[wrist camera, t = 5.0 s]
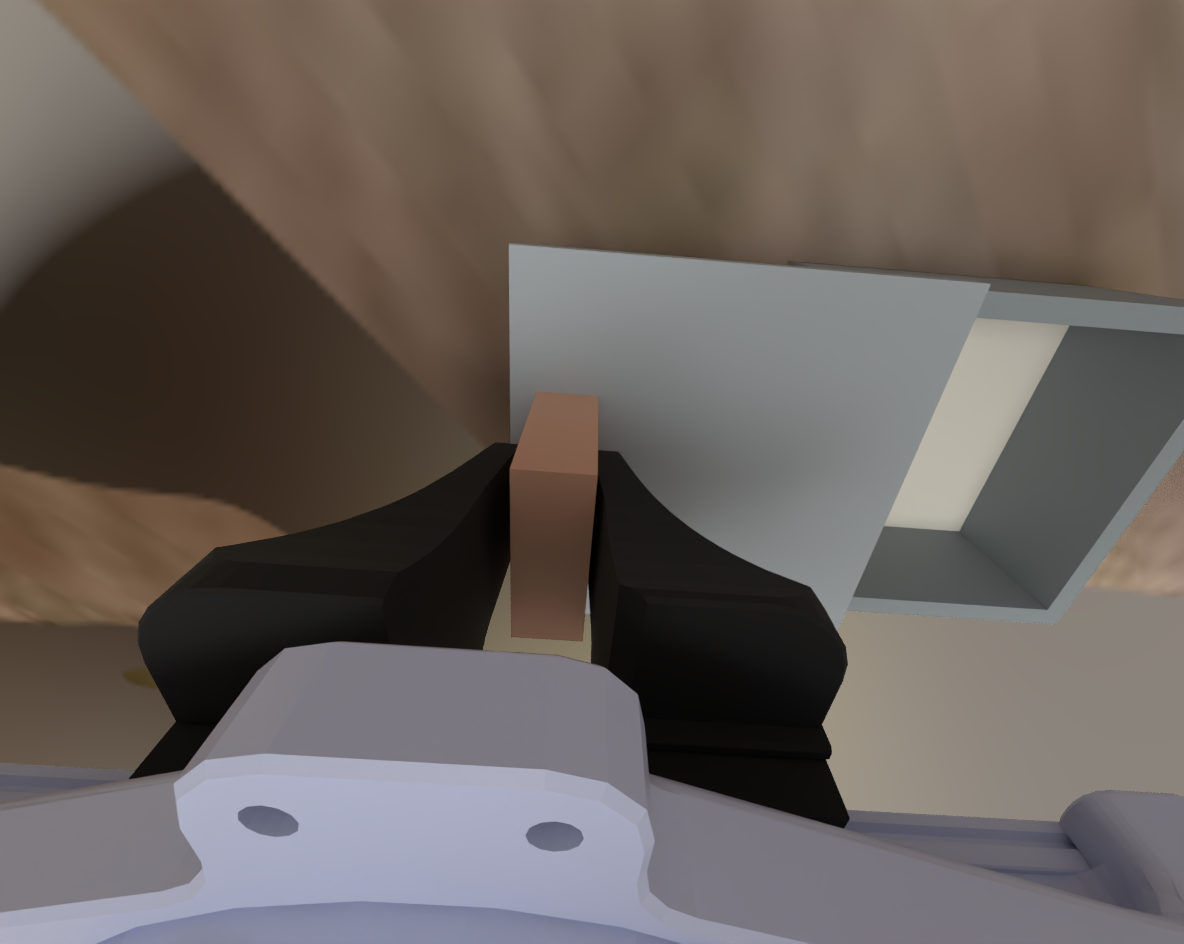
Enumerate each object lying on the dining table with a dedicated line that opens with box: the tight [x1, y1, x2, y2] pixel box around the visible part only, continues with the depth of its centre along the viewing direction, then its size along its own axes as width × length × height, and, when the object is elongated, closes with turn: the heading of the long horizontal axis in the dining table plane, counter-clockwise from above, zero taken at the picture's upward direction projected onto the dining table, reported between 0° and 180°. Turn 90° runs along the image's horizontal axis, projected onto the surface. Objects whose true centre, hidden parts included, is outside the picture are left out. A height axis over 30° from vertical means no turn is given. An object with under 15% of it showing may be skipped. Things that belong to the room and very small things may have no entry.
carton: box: [788, 261, 1184, 624], centre depth 16 cm, size 10×10×5 cm
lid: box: [509, 242, 991, 641], centre depth 11 cm, size 10×10×5 cm
